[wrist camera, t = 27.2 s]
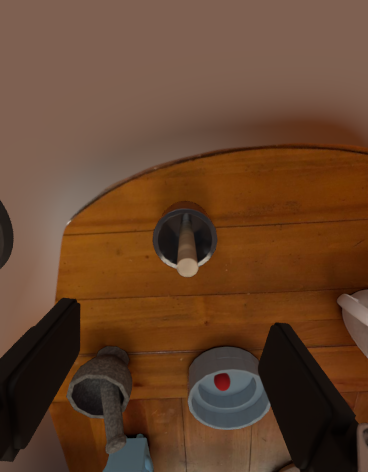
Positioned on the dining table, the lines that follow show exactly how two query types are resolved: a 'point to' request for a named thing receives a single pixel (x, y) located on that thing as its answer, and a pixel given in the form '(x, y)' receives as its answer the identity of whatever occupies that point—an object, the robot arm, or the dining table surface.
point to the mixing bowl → (235, 397)
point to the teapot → (131, 457)
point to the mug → (356, 317)
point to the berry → (222, 381)
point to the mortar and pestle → (104, 392)
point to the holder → (170, 231)
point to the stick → (187, 251)
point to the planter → (290, 468)
